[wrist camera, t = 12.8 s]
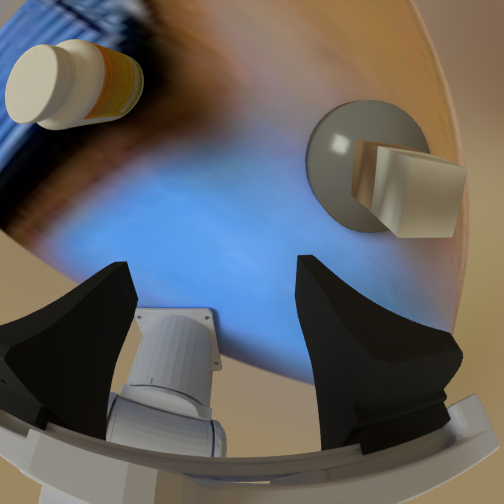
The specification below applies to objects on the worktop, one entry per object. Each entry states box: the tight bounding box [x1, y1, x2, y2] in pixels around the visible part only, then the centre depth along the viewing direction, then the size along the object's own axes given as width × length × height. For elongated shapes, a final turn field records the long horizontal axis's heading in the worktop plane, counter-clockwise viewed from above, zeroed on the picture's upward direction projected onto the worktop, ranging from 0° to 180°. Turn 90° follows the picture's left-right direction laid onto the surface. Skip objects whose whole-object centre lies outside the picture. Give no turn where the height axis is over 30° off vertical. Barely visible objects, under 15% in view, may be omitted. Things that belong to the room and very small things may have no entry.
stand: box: [305, 100, 430, 233], centre depth 18 cm, size 10×10×2 cm
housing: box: [351, 139, 467, 238], centre depth 14 cm, size 4×4×7 cm
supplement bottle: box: [5, 39, 144, 130], centre depth 11 cm, size 5×5×10 cm
